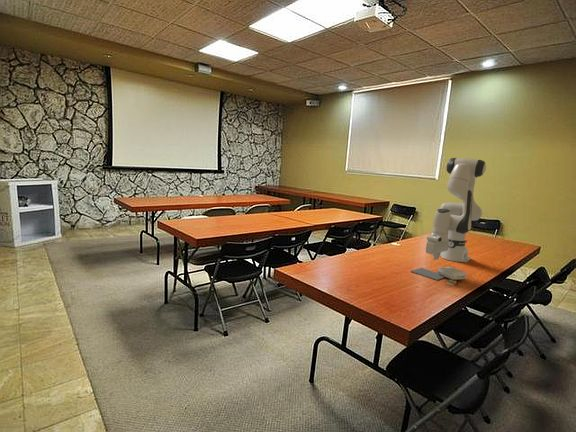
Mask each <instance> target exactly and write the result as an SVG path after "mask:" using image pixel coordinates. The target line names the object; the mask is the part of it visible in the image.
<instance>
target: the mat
mask: <svg viewBox="0 0 576 432" xmlns="http://www.w3.org/2000/svg"><path fill="white" fill-rule="evenodd" d="M410 272H411V273H414V274H417V275H419V276H421V277H425V278H429V279H432V280H433V281H439V280H442V279H446V278H447V277H445V276H442V275H440V274H438V272H435V271H433V270H430V269H426V268H423V267H418V268H416V269H413V270H410Z"/></svg>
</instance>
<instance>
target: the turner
mask: <svg viewBox="0 0 576 432" xmlns="http://www.w3.org/2000/svg"><path fill="white" fill-rule="evenodd" d="M455 284H457V280H453V279H450V278H448V281H447V282H446V283H445V285H448V286H453V287H454V286H455Z"/></svg>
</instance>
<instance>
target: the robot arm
mask: <svg viewBox="0 0 576 432" xmlns="http://www.w3.org/2000/svg"><path fill="white" fill-rule="evenodd" d="M445 166H446V167H445V169H446V172H447V173H448V174H449V175H450V176H449V179H448V181H447V184H446V185H447V190H448V192H449V193H450V194H451V195H452V196H454V197H456V198H458V199H459V200H460V201H462V202H461V203H459V202H449V201H448V202H443V203H441V205H440V206H439V208H438V209H436V211H435V214H434V217H433V221H432V226H433V227H432V229H431V233H430V234H429V235H427V237H426V240H427V241H426V246H425V253H426V254H429V255H432V257H433V260H434V261H437V260H439V258H440V257H441V258H442V259H444V260H446V261H447V260H448V261H451V262H457V263H459V262H460V263H468V262H469V261H470V260H472V257H471V256H469V250H468V248H467V246H466V244H467V242H468V239H467V240H466V234H467V233H468V232H470V230H471V228H472V221H478V220H480V219H481V217H482V215H483V209H482V207H480V206H479V204H478V203H477V202H476V201H475V199H474V192H475V191H474V188H475V186H476V185H475V184H476V179H477V178H478V177H481V176H483V175H484V173H486V170H487V165H486V162H485V160H481V159H476V158H475V159H474V158H470V157H469V158H468V157H467V158H465V157H464V158H463V157H459V158H458V157H451V158H450V159H448V161H447V162H446V164H445Z"/></svg>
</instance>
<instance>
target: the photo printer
mask: <svg viewBox="0 0 576 432" xmlns="http://www.w3.org/2000/svg"><path fill="white" fill-rule="evenodd" d="M437 273H438V274H440V275H442V276H445V277H446V278H448V279H451V280H452V279H453V280H455V281H457V280H465V278H467V272H465V271H463V270H461V269H458V268H455V267H452V266H442V267H438V269H437Z"/></svg>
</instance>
